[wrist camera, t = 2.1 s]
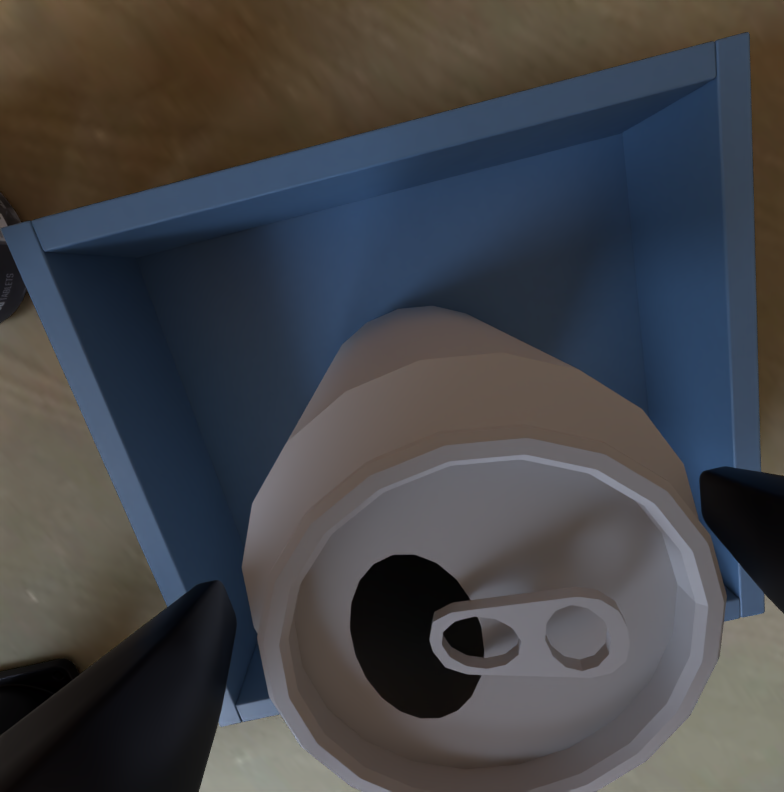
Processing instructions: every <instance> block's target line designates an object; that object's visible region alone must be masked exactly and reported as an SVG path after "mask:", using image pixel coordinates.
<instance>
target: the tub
mask: <svg viewBox="0 0 784 792" xmlns="http://www.w3.org/2000/svg"><path fill="white" fill-rule="evenodd" d="M1 232H2V234H3V236H4V238H5V241H6V243H7V245H8V247H9V250H10V252H11V254H12V256H13V259H14V261H15V263H16V265H17V268H18V270H19V272H20V274H21V277H22V279H23V281H24V284H25V286H26V288H27V290H28V293H29V295H30V297H31V299H32V302H33V304H34V306H35V308H36V311H37V313H38V315H39V317H40V320H41V322H42V324H43V327H44V329H45V331H46V333H47V336H48V338H49V340H50V342H51V345H52V347H53V349H54V351H55V354H56V356H57V358H58V360H59V363H60V365H61V367H62V370H63V372H64V374H65V376H66V379H67V381H68V383H69V385H70V388H71V390H72V392H73V394H74V397H75V399H76V401H77V403H78V406H79V408H80V410H81V413H82V415H83V417H84V419H85V422H86V424H87V426H88V428H89V431H90V433H91V435H92V437H93V440H94V442H95V444H96V446H97V449H98V451H99V453H100V456H101V458H102V460H103V462H104V465H105V467H106V469H107V471H108V474H109V476H110V478H111V480H112V483H113V485H114V487H115V489H116V492H117V494H118V496H119V498H120V501H121V503H122V505H123V508H124V510H125V512H126V514H127V517H128V519H129V521H130V523H131V526H132V528H133V530H134V532H135V535H136V537H137V539H138V541H139V544H140V546H141V548H142V551H143V553H144V555H145V557H146V560H147V562H148V564H149V566H150V569H151V571H152V573H153V575H154V578H155V580H156V582H157V584H158V587H159V589H160V591H161V594H162V596H163V598H164V600H165V603H166V605H167V607H168V606H170V605H171V604H172V603H173V602H175V601H176V600H177V599H179V598H180V597H181V596H183V595H184V594H185V593H186V592H188V591H189V590H190V589H192V588H193V587H194V586H196V585H197V584H200V583H204V582H208V581H213V580H219V581H221V582H222V583H223V584H224V586H225V589H226V591H227V594H228V596H229V599H230V601H231V604H232V606H233V609H234V611H235V614H236V619H237V630H236V635H235V641H234V646H233V652H232V657H231V663H230V668H229V673H228V679H227V684H226V690H225V695H224V700H223V705H222V710H221V714H220V718H219V725H220V726H221V727H222V726H227V725H232V724H237V723H241V722H242V721H243V722H245V721H250V720H255V719H260V718H265V717H269V716H274V715H279V714H280V713H279V712H278V710H277V708H276V707H275V705H274V704H273V702H272V701H271V699H270V698H269V694H268V690H267V685H266V680H265V675H264V670H263V665H262V660H261V655H260V650H259V645H258V641H257V635H258V633H257V632H256V630H255V628H254V625H253V620H252V616H251V611H250V606H249V601H248V596H247V591H246V586H245V581H244V576H243V572H242V562H243V556H244V550H245V544H246V538H247V532H248V526H249V520H250V514H251V508H252V503H253V501H254V499H255V497H256V496H257V494H258V492H259V490H260V489H261V487H262V485H263V483H264V482H265V480H266V478H267V476H268V474H269V473H270V471H271V469H272V467H273V466H274V464H275V462H276V460H277V459H278V457H279V455H280V453H281V451H282V450H283V448H284V446H285V444H286V443H287V441H288V439H289V437H290V435H291V434H292V432H293V430H294V428H295V427H296V425H297V423H298V421H299V420H300V418H301V416H302V414H303V412H304V411H305V409H306V407H307V405H308V404H309V402H310V400H311V398H312V397H313V395H314V393H315V391H316V389H317V388H318V386H319V384H320V382H321V381H322V379H323V377H324V375H325V373H326V372H327V370H328V368H329V367H330V365H331V363H332V361H333V360H334V358H335V356H336V354H337V353H338V351H339V349H340V347H341V346H342V344H343V343H344V342H346V341H347V340H348V339H349V338H350V337H351V336H352V335H353V334H355V333H356V332H357V331H358V330H359V329H360V328H361V327H362V326H364V325H365V324H366V323H367V322H369V321H371V320H374V319H376V318H378V317H381V316H383V315H385V314H388V313H390V312H392V311H394V310H397V309H402V308H412V307H423V306H436V307H440V308H445V309H449V310H453V311H458V312H462V313H466V314H468V315H470V316H472V317H474V318H476V319H478V320H480V321H482V322H484V323H486V324H488V325H490V326H492V327H494V328H496V329H498V330H500V331H502V332H504V333H506V334H508V335H510V336H512V337H514V338H516V339H518V340H520V341H522V342H524V343H526V344H528V345H530V346H532V347H534V348H536V349H538V350H540V351H542V352H544V353H546V354H548V355H550V356H552V357H554V358H556V359H558V360H560V361H563V362H565V363H567V364H569V365H571V366H573V367H575V368H577V369H579V370H580V371H582V372H584V373H585V374H587V375H588V376H590V377H592V378H593V379H595V380H596V381H598V382H600V383H601V384H603V385H604V386H606V387H608V388H609V389H611V390H612V391H614V392H615V393H617V394H619V395H620V396H622V397H623V398H625V399H627V400H628V401H630V402H631V403H633V404H635V405H636V406H638V407H639V408H641V409H643V411H644V412H645V413H646V415H647V416H648V417H649V419H650V420H651V421H652V423H653V424H654V425H655V427H656V428H657V429H658V431H659V432H660V433H661V435H662V436H663V437H664V439H665V440H666V441H667V443H668V444H669V445H670V447H671V448H672V449H673V451H674V452H675V453H676V454H677V456H678V457H679V458H680V460H681V461H682V462H683V464H684V467H685V471H686V474H687V478H688V481H689V485H690V489H691V492H692V496H693V500H694V503H695V507H696V511H697V514H698V518H699V521H700V522H701V524H702V525H703V526H704V528H705V529H706V530H707V531H708V533H709V534H710V535H711V539H712V542H713V546H714V550H715V553H716V557H717V561H718V565H719V568H720V572H721V576H722V579H723V583H724V587H725V591H726V594H727V600H726V608H725V616H724V621H729V620H734V619H738V618H740V617H747V616H752V615H757V614H761V613H764V612H765V604H764V592H763V591H762V590H761V589H760V588H759V587H758V586H757V584H756V583H755V582H754V581H753V580H752V579H751V577H750V576H749V575H748V574H747V573H746V571H745V570H744V569H743V568H742V567H741V565H740V564H739V563H738V562H737V561H736V559H735V558H734V557H733V556H732V555H731V553H730V552H729V551H728V550H727V549H726V547H725V546H724V545H723V544H722V543H721V542H720V540H719V539H718V538H717V537H716V536H715V534H714V533H713V532H712V531H711V530H710V528H709V527H708V526H707V524H706V523H705V521H704V519H703V516H702V513H701V501H700V486H699V477H700V474H701V473H702V472H703V471H705V470H709V469H714V468H718V467H723V466H728V467H734V468H740V469H746V470H752V471H758V472H761V452H760V414H759V376H758V339H757V301H756V263H755V225H754V187H753V149H752V111H751V73H750V36H749V33H748V32H745V33H741V34H738V35H734V36H730V37H726V38H722V39H719V40H716V41H715V42H714V41H711V42H707V43H703V44H699V45H696V46H692V47H688V48H684V49H680V50H677V51H673V52H669V53H665V54H661V55H658V56H654V57H650V58H646V59H642V60H639V61H635V62H631V63H627V64H623V65H620V66H616V67H612V68H608V69H604V70H601V71H597V72H593V73H589V74H585V75H582V76H578V77H574V78H570V79H566V80H563V81H559V82H555V83H551V84H547V85H544V86H540V87H536V88H532V89H528V90H525V91H521V92H517V93H513V94H509V95H505V96H502V97H498V98H494V99H490V100H486V101H483V102H479V103H475V104H471V105H467V106H464V107H460V108H456V109H452V110H448V111H445V112H441V113H437V114H433V115H429V116H426V117H422V118H418V119H414V120H410V121H407V122H403V123H399V124H395V125H391V126H388V127H384V128H380V129H376V130H372V131H369V132H365V133H361V134H357V135H353V136H350V137H346V138H342V139H338V140H334V141H331V142H327V143H323V144H319V145H315V146H312V147H308V148H304V149H300V150H296V151H293V152H289V153H285V154H281V155H277V156H274V157H270V158H266V159H262V160H258V161H255V162H251V163H247V164H243V165H239V166H236V167H232V168H228V169H224V170H220V171H216V172H213V173H209V174H205V175H201V176H197V177H194V178H190V179H186V180H182V181H178V182H175V183H171V184H167V185H163V186H159V187H156V188H152V189H148V190H144V191H140V192H137V193H133V194H129V195H125V196H121V197H118V198H114V199H110V200H106V201H102V202H99V203H95V204H91V205H87V206H83V207H80V208H76V209H72V210H68V211H64V212H61V213H57V214H53V215H49V216H45V217H42V218H38V219H34V220H32V221H25V222H22V223H18V224H14V225H10V226H6V227H3V228H1Z"/></svg>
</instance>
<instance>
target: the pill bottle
mask: <svg viewBox="0 0 784 792" xmlns="http://www.w3.org/2000/svg"><path fill="white" fill-rule="evenodd" d="M18 223H21V221H20V219H19V217H18V215H17V214H16V212H15V211H14V209H13V208H12V206H11V205H10V204H9V202H8V201H7V200H6V198H5V197H4V196H3V195H2V193H1V192H0V323H1V322H3V321H4V320H6V319H7V318H8V317H9V316H10V315H12V314H13V313H14V312H15V311H16V309H17V308H18V307H19V305H20V304H21V302H22V300H23V298H24V296H25V293H26V290H27V288H26V286H25V284H24V281H23V279H22V277H21V274H20V272H19V270H18V268H17V265H16V263H15V261H14V259H13V256H12V254H11V252H10V250H9V247H8V245H7V243H6V241H5V238H4V236H3V234H2V232H1V228H3V227H6V226H10V225H14V224H18Z"/></svg>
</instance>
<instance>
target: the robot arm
mask: <svg viewBox="0 0 784 792" xmlns="http://www.w3.org/2000/svg"><path fill="white" fill-rule="evenodd" d="M699 486H700V501H701V513H702V516H703V519H704V521H705V523H706V524H707V526H708V527H709V528H710V530H711V531H712V532H713V533H714V534H715V536H716V537H717V538H718V539H719V540H720V542H721V543H722V544H723V545H724V546H725V547H726V549H727V550H728V551H729V552H730V553H731V555H732V556H733V557H734V558H735V559H736V561H737V562H738V563H739V564H740V565H741V567H742V568H743V569H744V570H745V571H746V573H747V574H748V575H749V576H750V577H751V579H752V580H753V581H754V582H755V583H756V584H757V586H758V587H759V588H760V589H761V590H762V591H763V592H764V593H765V595H766V596H767V597H768V598H769V599H770V600H771V601H772V602H773V603H774V604H775V605H776V606H777V607H778V608H779V609H780V610H781V611H782V612H783V613H784V476H781V475H775V474H769V473H763V472H758V471H752V470H746V469H740V468H734V467H728V466H723V467H718V468H714V469H709V470H705V471H703V472H702V473H701V474H700V477H699ZM236 630H237V619H236V614H235V611H234V609H233V606H232V604H231V601H230V599H229V596H228V594H227V591H226V589H225V586H224V584H223V583H222V582H221V581H219V580H213V581H208V582H204V583H200V584H197V585H196V586H194V587H193V588H192V589H190V590H189V591H188V592H186V593H185V594H184V595H183V596H181V597H180V598H179V599H177V600H176V601H175V602H173V603H172V604H171V605H170V606H168V607H167V608H166V609H164V610H163V611H162V612H160V613H159V614H158V615H157V616H155V617H154V618H153V619H151V620H150V621H149V622H147V623H146V624H145V625H144V626H142V627H141V628H140V629H138V630H137V631H136V632H134V633H133V634H132V635H131V636H129V637H128V638H127V639H125V640H124V641H123V642H121V643H120V644H119V645H118V646H116V647H115V648H114V649H112V650H111V651H110V652H108V653H107V654H106V655H105V656H103V657H102V658H101V659H99V660H98V661H97V662H95V663H94V664H93V665H92V666H90V667H89V668H88V669H86V670H85V671H84V672H82V673H81V674H79V672H78V671H77V669H76V667H75V665H74V664H73V663H72V662H71V661H69V660H67V659H57V660H53V661H48V662H44V663H39V664H34V665H30V666H25V667H21V668H16V669H12V670H7V671H2V672H0V792H199V789H200V785H201V782H202V778H203V775H204V771H205V768H206V764H207V761H208V757H209V754H210V750H211V747H212V743H213V740H214V736H215V733H216V729H217V725H218V722H219V718H220V714H221V710H222V705H223V700H224V695H225V690H226V684H227V679H228V673H229V668H230V663H231V657H232V652H233V646H234V641H235V635H236Z"/></svg>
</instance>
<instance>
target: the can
mask: <svg viewBox="0 0 784 792" xmlns="http://www.w3.org/2000/svg"><path fill="white" fill-rule="evenodd" d="M242 572H243V576H244V581H245V586H246V591H247V596H248V601H249V606H250V611H251V616H252V620H253V625H254V628H255V630H256V632H257V633H258V635H257V641H258V645H259V650H260V655H261V660H262V665H263V670H264V675H265V680H266V685H267V690H268V694H269V698H270V699H271V701H272V702H273V704H274V705H275V707H276V708H277V710H278V712H279V713H280V715H281V716H282V718H283V719H284V721H285V723H286V724H287V726H288V727H289V729H290V730H291V732H292V734H293V735H294V737H295V738H296V740H297V741H298V743H299V744H300V746H301V747H302V748H303V749H305V750H306V751H307V752H308V753H310V754H311V755H312V756H313V757H315V758H316V759H317V760H318V761H320V762H321V763H322V764H323V765H325V766H326V767H327V768H328V769H330V770H331V771H332V772H333V773H335V774H336V775H337V776H338V777H340V778H341V779H342V780H343V781H345V782H346V783H347V784H348V785H350V786H351V787H353V788H356V789H358V790H361V791H363V792H596V791H598V790H599V789H601V788H603V787H604V786H606V785H607V784H609V783H611V782H612V781H614V780H616V779H617V778H619V777H621V776H622V775H624V774H626V773H627V772H629V771H631V770H632V769H634V768H635V767H637V766H639V765H640V764H642V763H644V762H645V761H647V760H648V759H649V758H650V757H651V756H652V755H653V754H654V753H655V752H656V751H657V750H658V748H659V747H660V746H661V745H662V744H663V743H664V742H665V741H666V740H667V739H668V738H669V737H670V736H671V735H672V734H673V733H674V732H675V731H676V730H677V729H678V728H679V727H680V726H681V725H682V724H683V723H684V721H685V720H686V719H687V718H688V717H689V716H690V715H691V713H692V711H693V709H694V707H695V705H696V703H697V701H698V699H699V697H700V695H701V693H702V691H703V689H704V687H705V685H706V683H707V681H708V679H709V677H710V675H711V673H712V671H713V669H714V667H715V665H716V663H717V661H718V659H719V656H720V648H721V640H722V632H723V624H724V616H725V608H726V600H727V594H726V591H725V587H724V583H723V579H722V576H721V572H720V568H719V565H718V561H717V557H716V553H715V550H714V546H713V542H712V539H711V535H710V534H709V533H708V531H707V530H706V529H705V528H704V526H703V525H702V524H701V522H700V521H699V518H698V514H697V511H696V507H695V503H694V500H693V496H692V492H691V489H690V485H689V481H688V478H687V474H686V471H685V467H684V464H683V462H682V461H681V460H680V458H679V457H678V456H677V454H676V453H675V452H674V451H673V449H672V448H671V447H670V445H669V444H668V443H667V441H666V440H665V439H664V437H663V436H662V435H661V433H660V432H659V431H658V429H657V428H656V427H655V425H654V424H653V423H652V421H651V420H650V419H649V417H648V416H647V415H646V413H645V412H644V411H643V409H641V408H639V407H638V406H636V405H635V404H633V403H631V402H630V401H628V400H627V399H625V398H623V397H622V396H620V395H619V394H617V393H615V392H614V391H612V390H611V389H609V388H608V387H606V386H604V385H603V384H601V383H600V382H598V381H596V380H595V379H593V378H592V377H590V376H588V375H587V374H585V373H584V372H582V371H580V370H579V369H577V368H575V367H573V366H571V365H569V364H567V363H565V362H563V361H560V360H558V359H556V358H554V357H552V356H550V355H548V354H546V353H544V352H542V351H540V350H538V349H536V348H534V347H532V346H530V345H528V344H526V343H524V342H522V341H520V340H518V339H516V338H514V337H512V336H510V335H508V334H506V333H504V332H502V331H500V330H498V329H496V328H494V327H492V326H490V325H488V324H486V323H484V322H482V321H480V320H478V319H476V318H474V317H472V316H470V315H468V314H466V313H462V312H458V311H453V310H449V309H445V308H440V307H436V306H423V307H412V308H402V309H397V310H394V311H392V312H390V313H388V314H385V315H383V316H381V317H378V318H376V319H374V320H371V321H369V322H367V323H366V324H365V325H364V326H362V327H361V328H360V329H359V330H358V331H357V332H356V333H355V334H353V335H352V336H351V337H350V338H349V339H348V340H347V341H346V342H344V343H343V344H342V346H341V347H340V349H339V351H338V353H337V354H336V356H335V358H334V360H333V361H332V363H331V365H330V367H329V368H328V370H327V372H326V373H325V375H324V377H323V379H322V381H321V382H320V384H319V386H318V388H317V389H316V391H315V393H314V395H313V397H312V398H311V400H310V402H309V404H308V405H307V407H306V409H305V411H304V412H303V414H302V416H301V418H300V420H299V421H298V423H297V425H296V427H295V428H294V430H293V432H292V434H291V435H290V437H289V439H288V441H287V443H286V444H285V446H284V448H283V450H282V451H281V453H280V455H279V457H278V459H277V460H276V462H275V464H274V466H273V467H272V469H271V471H270V473H269V474H268V476H267V478H266V480H265V482H264V483H263V485H262V487H261V489H260V490H259V492H258V494H257V496H256V497H255V499H254V501H253V503H252V508H251V514H250V520H249V526H248V532H247V538H246V544H245V550H244V556H243V562H242Z"/></svg>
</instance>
